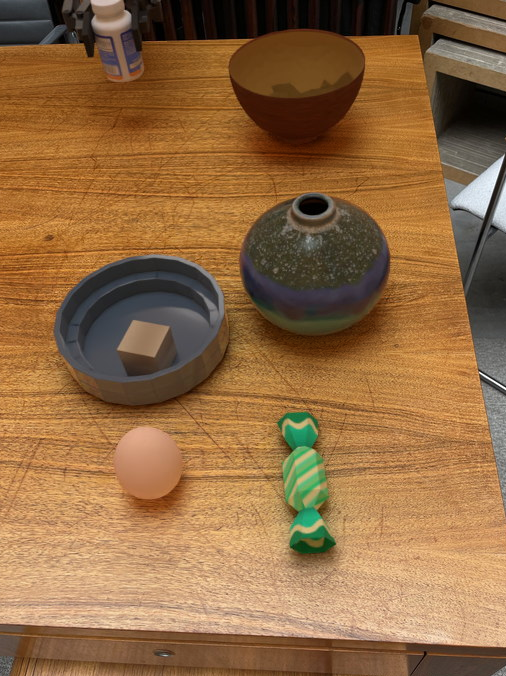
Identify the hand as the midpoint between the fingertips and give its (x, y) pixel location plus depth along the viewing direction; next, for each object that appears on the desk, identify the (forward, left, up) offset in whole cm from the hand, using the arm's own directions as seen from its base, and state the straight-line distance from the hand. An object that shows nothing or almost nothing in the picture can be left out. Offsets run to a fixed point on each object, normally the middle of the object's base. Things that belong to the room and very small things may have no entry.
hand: (112, 43), depth 79 cm
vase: (+37, -16, -14) cm, 43 cm away
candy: (+47, -36, -14) cm, 61 cm away
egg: (+35, -42, -14) cm, 56 cm away
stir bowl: (+24, -29, -14) cm, 40 cm away
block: (+27, -31, -13) cm, 43 cm away
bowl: (+19, +12, -14) cm, 27 cm away
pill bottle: (-3, +4, -7) cm, 8 cm away
